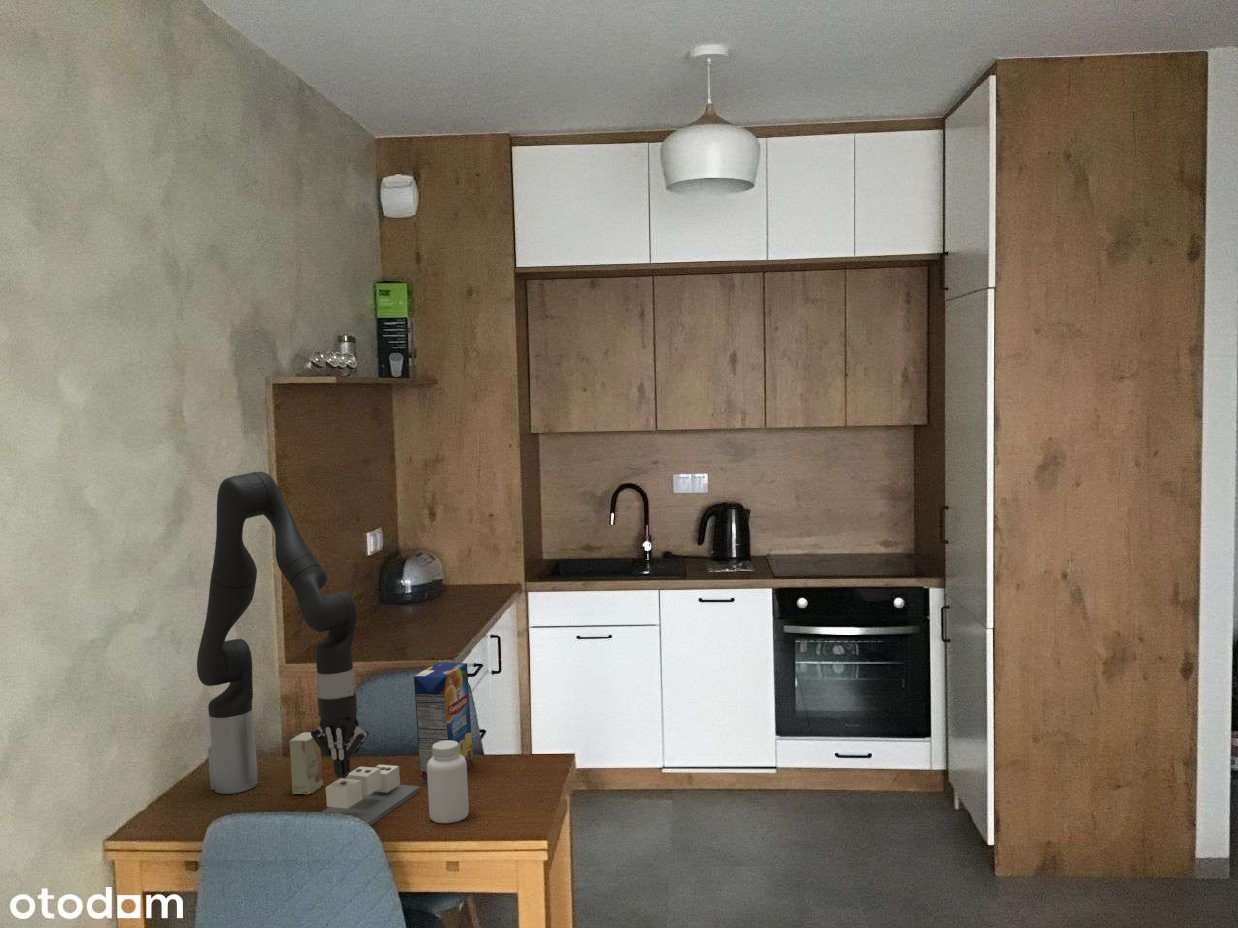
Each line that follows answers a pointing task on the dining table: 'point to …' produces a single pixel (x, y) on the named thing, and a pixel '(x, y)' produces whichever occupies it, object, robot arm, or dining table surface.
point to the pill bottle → (447, 783)
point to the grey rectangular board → (378, 803)
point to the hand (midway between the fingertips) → (342, 776)
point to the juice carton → (443, 711)
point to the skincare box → (305, 764)
